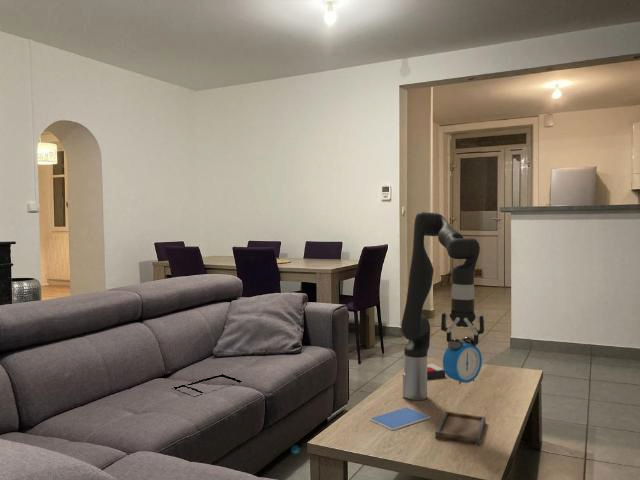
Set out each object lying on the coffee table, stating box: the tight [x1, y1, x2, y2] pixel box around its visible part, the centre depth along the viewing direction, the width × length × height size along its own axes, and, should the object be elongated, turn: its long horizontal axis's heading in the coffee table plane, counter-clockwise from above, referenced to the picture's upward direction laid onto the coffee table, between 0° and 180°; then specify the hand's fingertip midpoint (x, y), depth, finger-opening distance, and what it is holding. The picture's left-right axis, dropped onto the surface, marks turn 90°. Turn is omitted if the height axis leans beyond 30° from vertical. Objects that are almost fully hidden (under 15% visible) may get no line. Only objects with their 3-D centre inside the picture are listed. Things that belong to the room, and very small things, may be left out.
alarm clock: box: [442, 335, 483, 385], centre depth 182 cm, size 13×6×15 cm, turn 121°
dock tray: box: [434, 410, 486, 446], centre depth 183 cm, size 14×20×2 cm
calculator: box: [427, 363, 446, 380], centre depth 246 cm, size 11×4×15 cm
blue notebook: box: [369, 407, 431, 432], centre depth 193 cm, size 19×13×1 cm, turn 126°
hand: (462, 344), depth 182 cm, fingers closed on alarm clock, 8 cm apart
